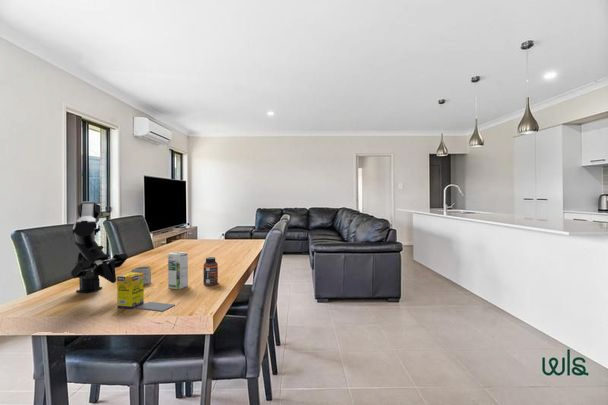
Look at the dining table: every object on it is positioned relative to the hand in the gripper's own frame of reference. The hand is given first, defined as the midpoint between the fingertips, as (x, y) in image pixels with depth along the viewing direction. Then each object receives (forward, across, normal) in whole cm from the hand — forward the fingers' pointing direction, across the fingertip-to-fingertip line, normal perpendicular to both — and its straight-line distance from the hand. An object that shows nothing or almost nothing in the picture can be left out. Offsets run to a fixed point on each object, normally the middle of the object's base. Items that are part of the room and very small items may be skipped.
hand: (114, 282), depth 112 cm
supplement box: (+11, 0, 0) cm, 11 cm away
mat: (+17, -1, +6) cm, 18 cm away
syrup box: (+11, -23, 0) cm, 26 cm away
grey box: (-4, -24, -15) cm, 29 cm away
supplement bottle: (+19, -31, +8) cm, 37 cm away
